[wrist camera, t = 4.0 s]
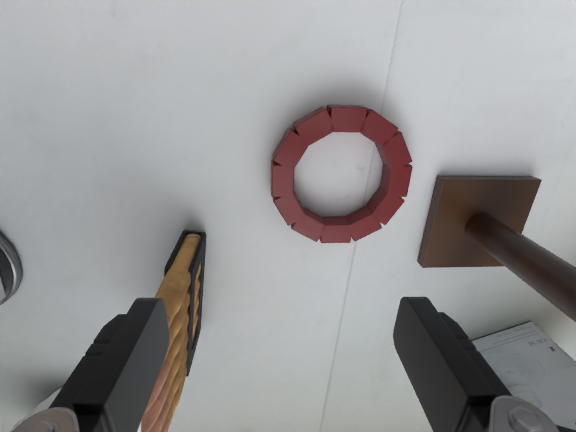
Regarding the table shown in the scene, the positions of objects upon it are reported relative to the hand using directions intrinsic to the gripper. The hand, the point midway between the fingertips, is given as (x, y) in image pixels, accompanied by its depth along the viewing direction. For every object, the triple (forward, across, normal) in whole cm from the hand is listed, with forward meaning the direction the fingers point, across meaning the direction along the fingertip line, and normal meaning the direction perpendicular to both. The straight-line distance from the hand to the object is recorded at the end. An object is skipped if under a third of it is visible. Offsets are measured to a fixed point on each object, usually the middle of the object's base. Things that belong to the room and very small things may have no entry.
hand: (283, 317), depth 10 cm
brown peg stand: (+15, -17, +3) cm, 23 cm away
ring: (+15, -5, -1) cm, 15 cm away
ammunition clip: (+15, +7, +9) cm, 19 cm away
